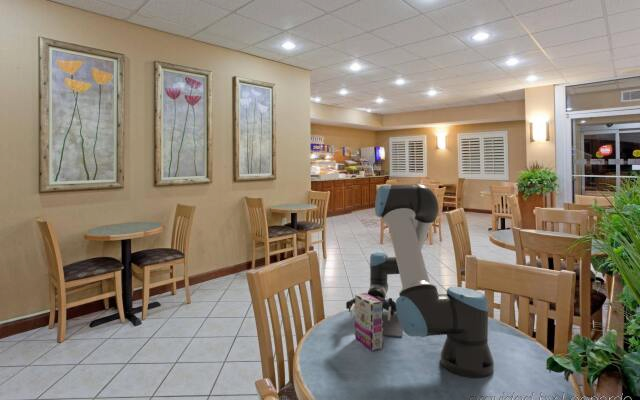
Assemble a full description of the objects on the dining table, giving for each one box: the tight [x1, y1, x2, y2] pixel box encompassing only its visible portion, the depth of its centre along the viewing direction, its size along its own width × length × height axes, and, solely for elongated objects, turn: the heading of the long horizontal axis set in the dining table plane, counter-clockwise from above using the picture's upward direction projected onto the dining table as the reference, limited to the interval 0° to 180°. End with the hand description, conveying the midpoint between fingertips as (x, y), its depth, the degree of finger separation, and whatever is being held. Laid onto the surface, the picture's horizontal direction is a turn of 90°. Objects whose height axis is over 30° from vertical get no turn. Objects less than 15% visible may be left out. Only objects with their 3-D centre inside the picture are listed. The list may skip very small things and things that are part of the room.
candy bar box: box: [354, 292, 384, 352], centre depth 126 cm, size 11×5×16 cm, turn 25°
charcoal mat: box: [383, 311, 404, 339], centre depth 143 cm, size 17×22×1 cm
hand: (369, 315), depth 130 cm, fingers open, 13 cm apart
